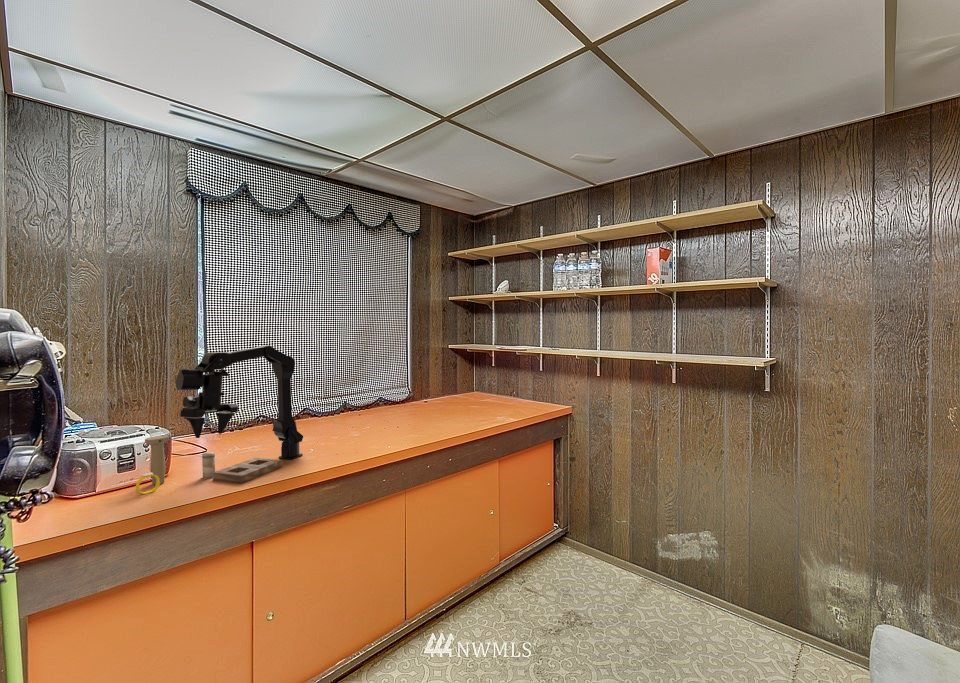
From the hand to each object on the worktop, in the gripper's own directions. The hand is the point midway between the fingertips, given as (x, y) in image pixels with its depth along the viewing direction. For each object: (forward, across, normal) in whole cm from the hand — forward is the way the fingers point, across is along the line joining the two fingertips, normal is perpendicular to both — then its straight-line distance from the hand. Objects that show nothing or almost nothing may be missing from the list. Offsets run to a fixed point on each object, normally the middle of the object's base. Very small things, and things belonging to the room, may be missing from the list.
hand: (209, 435), depth 154 cm
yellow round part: (+16, +16, -6) cm, 23 cm away
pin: (+14, -1, 0) cm, 14 cm away
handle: (+15, +8, -11) cm, 20 cm away
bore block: (+13, -8, +10) cm, 18 cm away
